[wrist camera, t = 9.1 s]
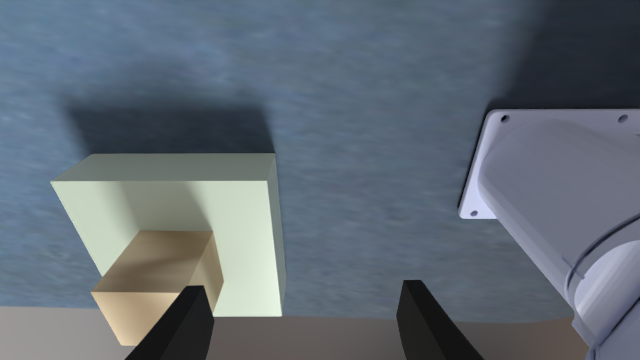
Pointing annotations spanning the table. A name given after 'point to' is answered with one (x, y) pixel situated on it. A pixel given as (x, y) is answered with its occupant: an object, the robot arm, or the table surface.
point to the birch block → (156, 279)
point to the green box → (187, 215)
